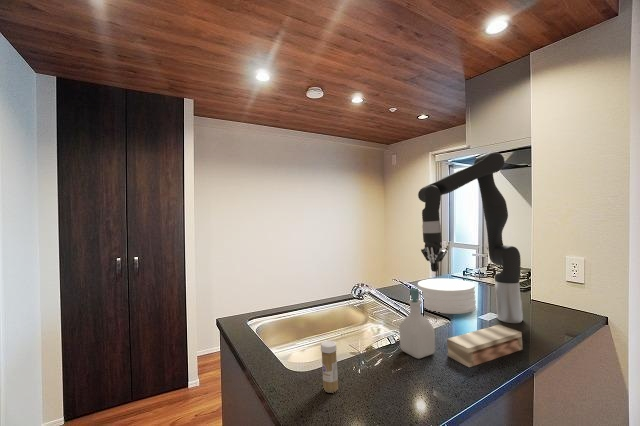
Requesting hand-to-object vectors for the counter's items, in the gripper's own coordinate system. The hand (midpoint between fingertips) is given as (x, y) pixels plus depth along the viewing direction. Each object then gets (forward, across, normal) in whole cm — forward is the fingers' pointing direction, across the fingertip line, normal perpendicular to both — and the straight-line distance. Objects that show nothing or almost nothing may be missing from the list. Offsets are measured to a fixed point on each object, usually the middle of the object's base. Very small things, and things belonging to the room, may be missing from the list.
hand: (434, 271), depth 126 cm
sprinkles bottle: (+24, -19, +61) cm, 68 cm away
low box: (+24, -25, +4) cm, 35 cm away
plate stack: (+25, +20, -27) cm, 42 cm away
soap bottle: (+24, -14, +24) cm, 37 cm away
